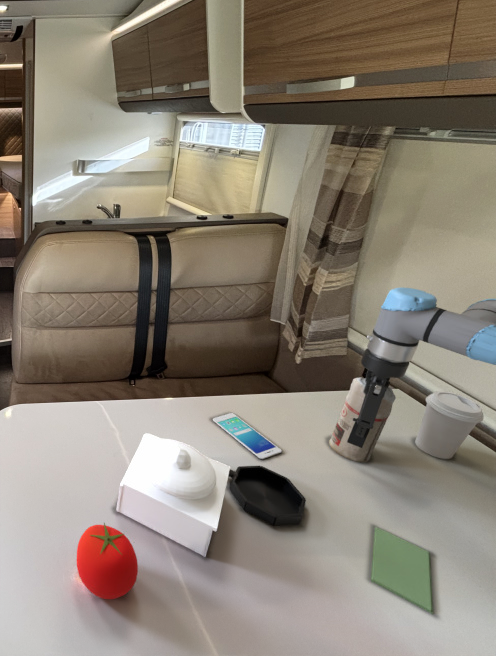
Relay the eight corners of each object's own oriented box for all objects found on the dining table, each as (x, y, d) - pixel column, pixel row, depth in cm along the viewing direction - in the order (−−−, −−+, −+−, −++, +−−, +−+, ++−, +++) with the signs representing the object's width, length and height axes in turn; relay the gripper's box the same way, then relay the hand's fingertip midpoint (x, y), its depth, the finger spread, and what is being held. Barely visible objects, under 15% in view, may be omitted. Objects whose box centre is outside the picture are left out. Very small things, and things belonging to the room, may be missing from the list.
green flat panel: (428, 555, 81) (430, 551, 81) (431, 616, 72) (434, 612, 72) (373, 529, 87) (375, 525, 86) (370, 582, 77) (371, 579, 77)
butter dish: (140, 459, 104) (148, 407, 98) (222, 495, 94) (237, 440, 88) (115, 512, 91) (123, 455, 85) (207, 561, 81) (224, 501, 75)
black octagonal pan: (305, 497, 93) (309, 486, 92) (294, 539, 85) (299, 528, 83) (200, 447, 107) (203, 437, 106) (182, 479, 98) (184, 468, 97)
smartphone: (232, 412, 118) (283, 451, 105) (231, 414, 118) (282, 453, 105) (211, 418, 115) (261, 459, 102) (210, 421, 116) (260, 461, 103)
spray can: (330, 433, 111) (355, 369, 104) (372, 450, 106) (400, 384, 98) (324, 450, 106) (350, 384, 98) (367, 469, 100) (397, 401, 93)
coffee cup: (458, 472, 99) (486, 421, 94) (403, 449, 106) (426, 400, 100) (461, 451, 105) (487, 402, 99) (409, 430, 112) (431, 383, 106)
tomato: (138, 617, 72) (146, 575, 68) (75, 605, 74) (79, 564, 70) (129, 556, 82) (136, 517, 78) (73, 547, 84) (77, 508, 80)
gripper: (369, 328, 106) (342, 397, 114) (362, 372, 89) (331, 450, 97) (410, 338, 101) (379, 410, 109) (410, 387, 84) (374, 467, 93)
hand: (356, 429), depth 103 cm, fingers open, 12 cm apart
